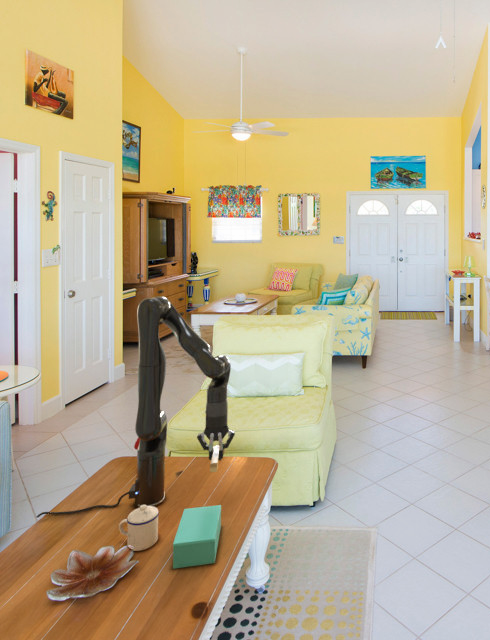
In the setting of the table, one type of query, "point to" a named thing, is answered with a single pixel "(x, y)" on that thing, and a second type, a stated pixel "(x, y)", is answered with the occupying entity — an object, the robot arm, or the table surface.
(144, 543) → the teacup with lid
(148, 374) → the robot arm
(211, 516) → the lunchbox lid
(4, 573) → the table surface
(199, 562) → the box
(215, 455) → the spoon
